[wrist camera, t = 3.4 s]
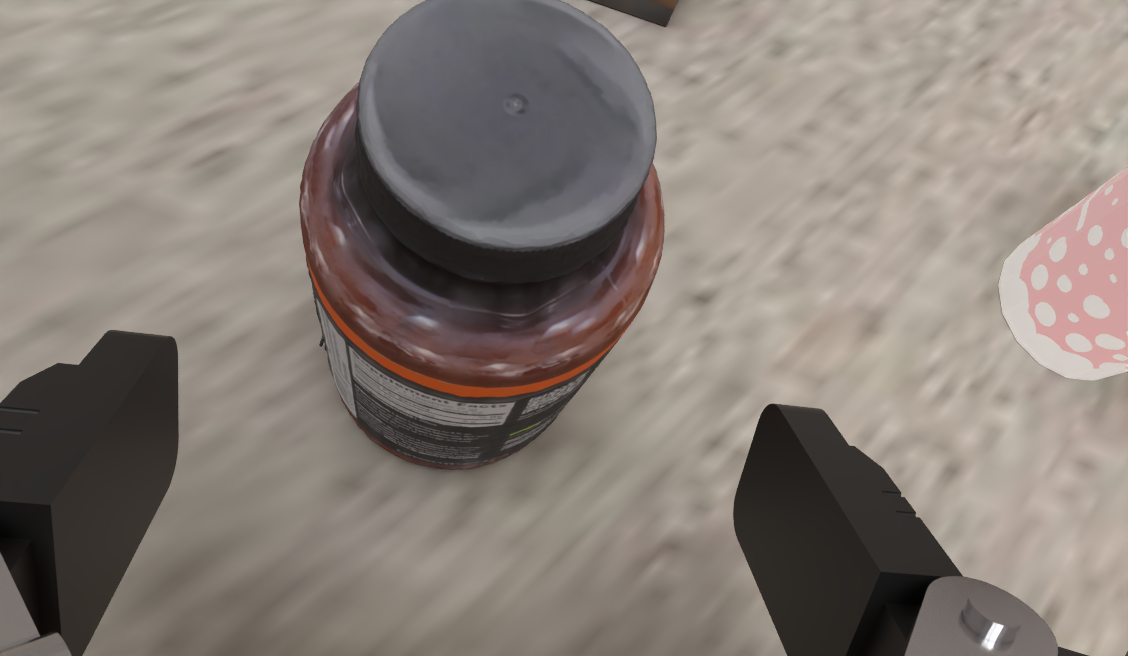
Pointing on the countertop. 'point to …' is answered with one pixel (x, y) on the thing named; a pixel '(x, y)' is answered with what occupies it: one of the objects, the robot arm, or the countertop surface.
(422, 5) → the supplement bottle
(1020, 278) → the beverage cup
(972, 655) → the robot arm
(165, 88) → the countertop surface
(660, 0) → the frame
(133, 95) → the countertop surface
